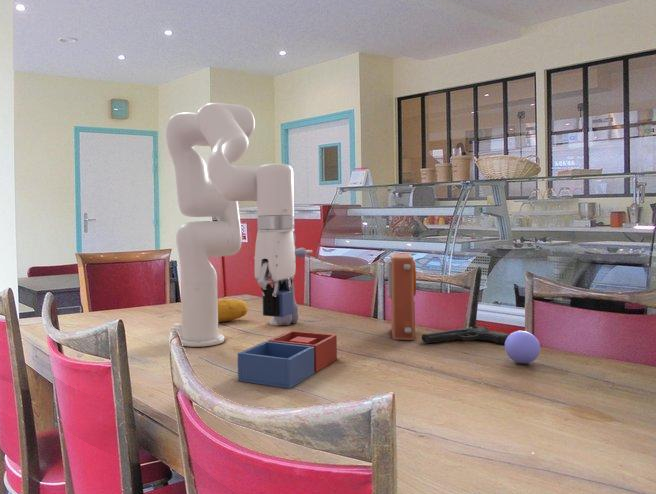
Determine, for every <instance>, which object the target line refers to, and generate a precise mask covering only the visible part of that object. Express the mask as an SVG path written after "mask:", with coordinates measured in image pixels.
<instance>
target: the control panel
mask: <svg viewBox="0 0 656 494" xmlns="http://www.w3.org/2000/svg"><path fill="white" fill-rule="evenodd" d="M416 269H417V267H416V261H415V260H414V257H413V256H412V254H411V253H390V258H388V259H387V294H388V298H389V299H390V309H391V310H390V311H391V312H390V313H391V315H390V316H391V317H390V318H391V335H392V339H393V340H396V341H398V340H399V341H415V334H416V314H415V313H416V309H415V307H416V306H415V305H416V303H415V296H416V295H417V270H416Z"/></svg>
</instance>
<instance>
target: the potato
mask: <svg viewBox="0 0 656 494" xmlns="http://www.w3.org/2000/svg"><path fill="white" fill-rule="evenodd" d="M248 312H249V305H248V303H246V301H244V300H241V299H235V298H220V299H218V323H224V322H231V321H235V320H238V319H240V318H242V317H245V316H246V315H247V314H248Z"/></svg>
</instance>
